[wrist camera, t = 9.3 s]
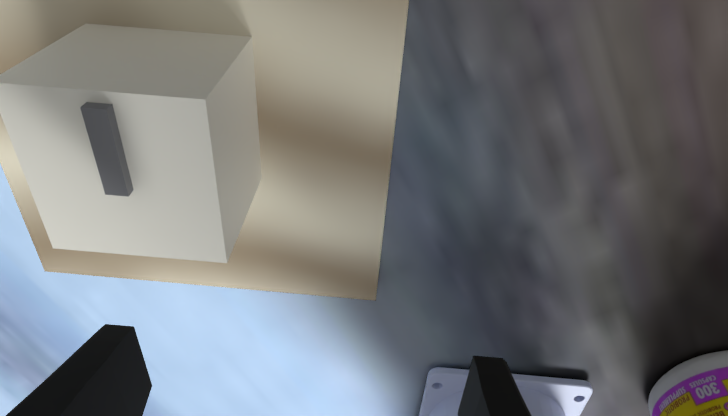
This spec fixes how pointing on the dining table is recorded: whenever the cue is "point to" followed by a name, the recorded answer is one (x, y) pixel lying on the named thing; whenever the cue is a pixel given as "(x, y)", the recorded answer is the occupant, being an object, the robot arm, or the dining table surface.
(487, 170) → the dining table surface
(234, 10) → the board
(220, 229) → the white cabinet with handle
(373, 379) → the dining table surface
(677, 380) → the supplement bottle
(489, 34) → the dining table surface
